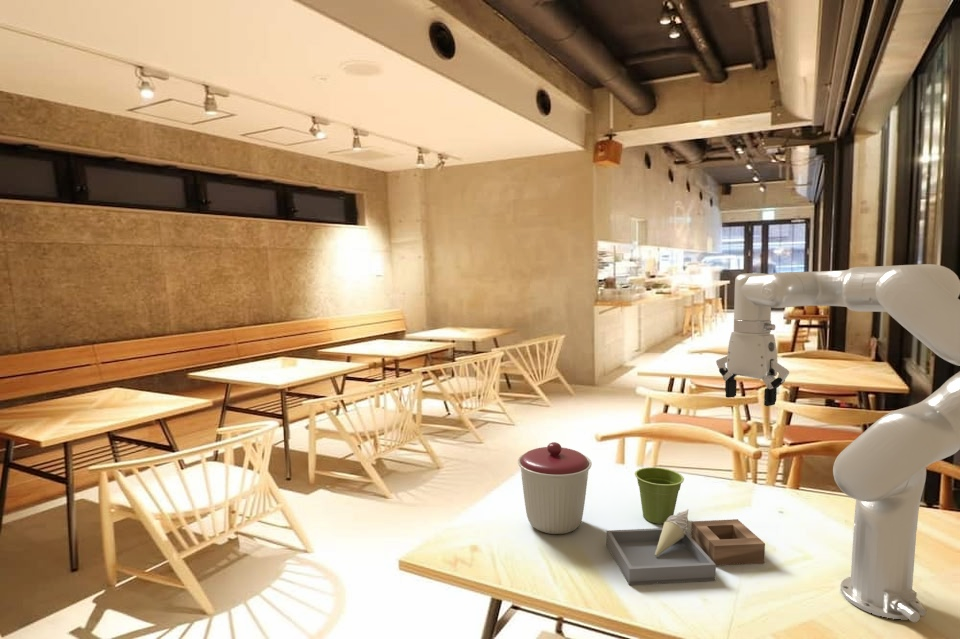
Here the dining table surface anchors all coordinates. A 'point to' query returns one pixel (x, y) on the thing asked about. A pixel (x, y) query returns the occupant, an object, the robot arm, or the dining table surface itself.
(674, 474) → the plant pot
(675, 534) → the ice cream cone
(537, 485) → the canister
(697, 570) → the grey tray
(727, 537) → the cone stand
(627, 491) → the dining table surface
